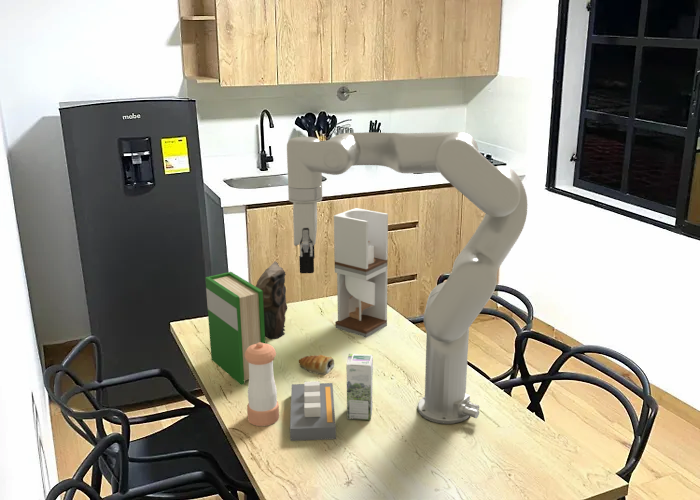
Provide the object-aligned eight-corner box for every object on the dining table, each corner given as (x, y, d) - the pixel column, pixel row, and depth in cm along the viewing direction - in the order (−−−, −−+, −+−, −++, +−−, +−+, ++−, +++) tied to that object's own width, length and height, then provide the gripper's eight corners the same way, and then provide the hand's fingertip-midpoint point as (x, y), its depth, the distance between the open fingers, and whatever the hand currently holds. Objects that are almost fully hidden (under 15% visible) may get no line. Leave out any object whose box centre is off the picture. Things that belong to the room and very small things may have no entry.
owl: (276, 319, 221) (273, 257, 215) (302, 331, 212) (300, 267, 206) (242, 330, 213) (239, 267, 206) (268, 344, 204) (265, 278, 198)
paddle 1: (304, 390, 171) (304, 381, 169) (319, 390, 171) (319, 381, 170) (304, 395, 170) (304, 385, 168) (319, 394, 170) (319, 385, 168)
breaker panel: (292, 395, 176) (291, 384, 175) (332, 393, 177) (332, 382, 176) (290, 440, 157) (290, 428, 156) (335, 438, 158) (335, 426, 157)
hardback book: (266, 377, 185) (262, 290, 178) (241, 385, 181) (235, 297, 174) (235, 352, 199) (230, 271, 191) (211, 359, 195) (205, 277, 187)
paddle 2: (304, 412, 162) (304, 403, 160) (320, 412, 162) (320, 402, 160) (304, 417, 160) (304, 407, 159) (320, 416, 161) (320, 407, 159)
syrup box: (372, 408, 170) (373, 353, 165) (371, 421, 164) (371, 364, 160) (349, 407, 171) (348, 352, 166) (346, 420, 165) (345, 363, 160)
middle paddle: (304, 401, 166) (304, 392, 165) (320, 400, 166) (319, 391, 165) (304, 405, 165) (304, 396, 163) (320, 405, 165) (320, 395, 164)
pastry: (294, 370, 189) (293, 357, 188) (305, 360, 195) (305, 347, 194) (326, 377, 185) (325, 363, 184) (336, 366, 191) (336, 353, 190)
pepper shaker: (283, 422, 164) (279, 346, 158) (252, 429, 162) (247, 352, 156) (274, 407, 171) (271, 334, 165) (244, 413, 168) (240, 339, 162)
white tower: (335, 328, 214) (333, 215, 203) (356, 316, 222) (356, 207, 211) (366, 337, 207) (366, 221, 197) (386, 325, 216) (387, 213, 205)
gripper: (290, 185, 167) (292, 254, 172) (286, 203, 151) (289, 279, 156) (322, 184, 167) (323, 253, 173) (322, 202, 151) (323, 278, 156)
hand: (307, 265), depth 164 cm, fingers open, 9 cm apart
